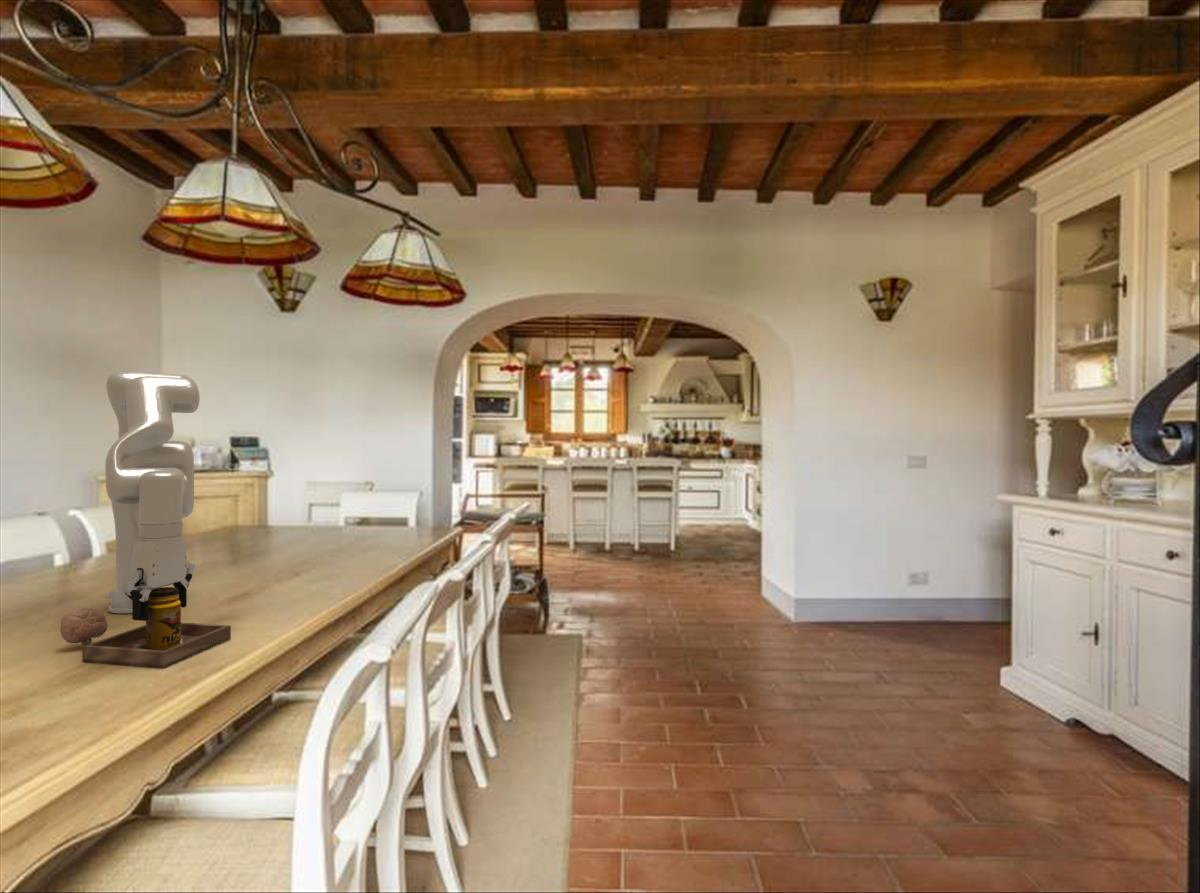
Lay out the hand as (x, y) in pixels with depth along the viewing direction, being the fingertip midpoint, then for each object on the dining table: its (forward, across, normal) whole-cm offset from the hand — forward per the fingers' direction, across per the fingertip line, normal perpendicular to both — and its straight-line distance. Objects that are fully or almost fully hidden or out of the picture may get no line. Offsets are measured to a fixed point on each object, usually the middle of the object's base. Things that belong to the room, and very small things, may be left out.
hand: (160, 613), depth 136 cm
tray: (+7, 0, 0) cm, 8 cm away
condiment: (+7, +1, 0) cm, 7 cm away
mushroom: (+8, +1, -16) cm, 18 cm away
